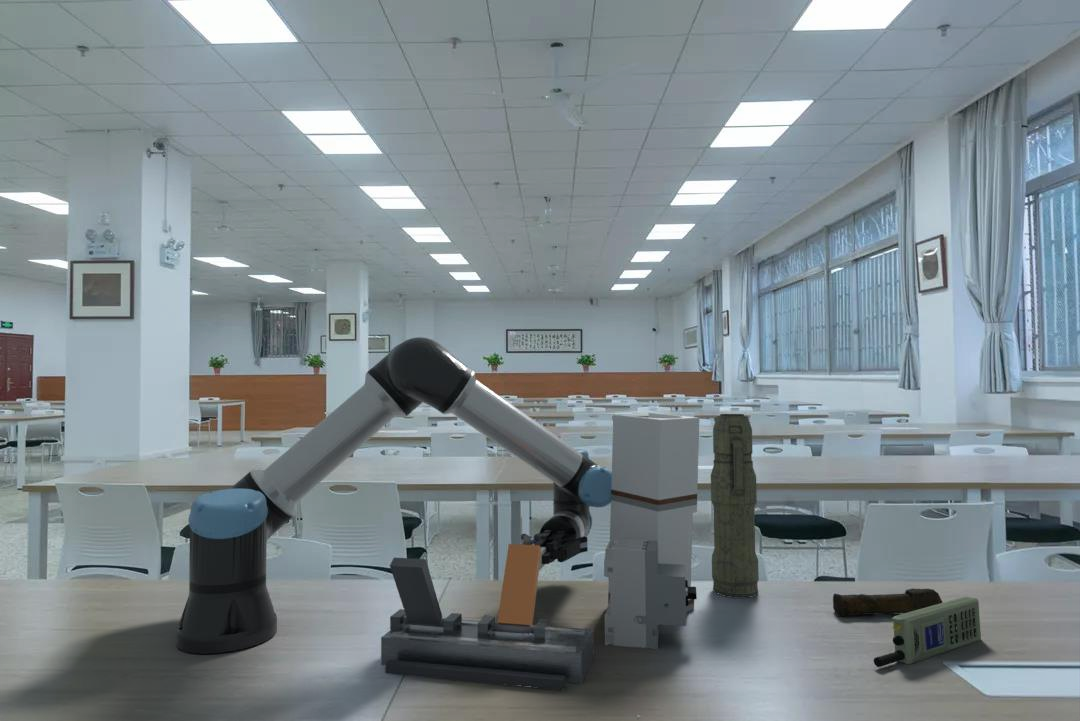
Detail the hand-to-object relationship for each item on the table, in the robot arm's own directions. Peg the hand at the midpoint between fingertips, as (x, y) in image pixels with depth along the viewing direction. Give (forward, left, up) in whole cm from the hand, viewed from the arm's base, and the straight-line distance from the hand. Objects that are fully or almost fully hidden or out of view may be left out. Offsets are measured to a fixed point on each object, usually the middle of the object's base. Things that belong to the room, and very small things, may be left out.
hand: (532, 564), depth 113 cm
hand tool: (+58, +26, -12) cm, 65 cm away
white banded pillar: (+17, +20, -12) cm, 29 cm away
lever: (0, -10, -7) cm, 12 cm away
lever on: (-14, -10, -7) cm, 19 cm away
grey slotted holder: (-4, -10, -12) cm, 16 cm away
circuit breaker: (+19, +4, -12) cm, 23 cm away
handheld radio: (+60, +7, -12) cm, 62 cm away
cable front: (-4, -17, -12) cm, 21 cm away
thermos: (+33, +34, -12) cm, 49 cm away
